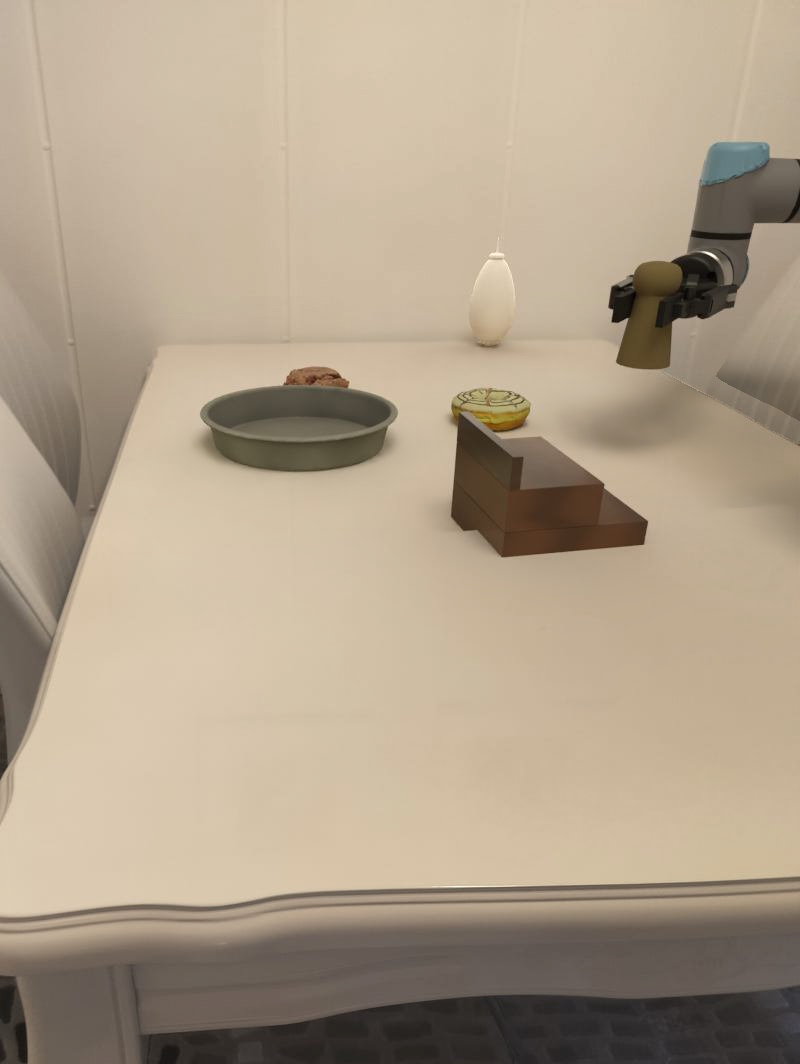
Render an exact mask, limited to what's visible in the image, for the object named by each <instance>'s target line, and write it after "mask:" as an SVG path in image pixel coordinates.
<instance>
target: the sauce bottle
mask: <svg viewBox="0 0 800 1064" xmlns="http://www.w3.org/2000/svg"><path fill="white" fill-rule="evenodd" d="M488 258H489V259H488V260H487V261H486V262H485V263H484V264H483V266H482V268H481V269H480V271H479V273H478V275H477V277H476V279H475V282H474V285H473V288H472V292H471V295H470V301H469V311H468V316H469V317H468V318H469V319H468V320H469V326H470V328H471V332H472V334H473V337H475V338H476V339H478V342H479V343H481V344H483V346H484V347H494V346H495V345H497V344H499V343H500V341H501V340H503V339H505V338H506V336H507V335H508V334H509V332H510V329H511V328H512V325H513V322H514V318H515V313H516V303H517V301H516V299H517V298H516V287H515V282H514V278H513V275H512V271H511V269H510V267H509V265H508V263H507V261H506V260H505V258H506V255H505V254H504V253H502V252H500V237H499V236H498V237H497V241H496V246H495V252H492V253H490V254H489V255H488Z"/></svg>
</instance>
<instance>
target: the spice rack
mask: <svg viewBox="0 0 800 1064" xmlns="http://www.w3.org/2000/svg"><path fill="white" fill-rule="evenodd" d="M456 431H457V432H456V433H457V434H456V445H455V459H454V472H453V483H452V484H453V485H452V495H451V496H452V497H451V508H450V509H451V510H450V517H451V518H452V520H453V521H454V522H455V523H456V524H457V525H458V527H460V529H461V530H462V531H463V532H470V531H477V532H478V533H479V534H480V535H481V537H483V538H484V540H485V541H486V542H488V544H489V546H491V547H492V548H493V549H494V551H495V552H496V553H497V554H498V555H499V556H500V557H501V558H512V557H513V558H515V557H524V556H534V555H547V554H558V553H568V552H569V553H570V552H580V551H590V550H592V551H593V550H603V549H613V548H624V547H625V548H627V547H635V546H644V545H645V540H646V535H647V531H648V527H649V520H648V519H646V517H645V518H644V516H642V515H641V514H639V512H637V511H636V510H634V509H633V508H631V507H630V506H629V505H628V504H626V503H625V502H624V501H622V500H621V499H619V498H618V497H617V496H615V494H613V493H611V492H610V491H609V490H608V489H606V488H605V486H606V485H605V482H604V481H602V480H601V479H599V478H598V477H596V476H595V475H594V474H592V473H591V472H590V471H588V470H587V469H585V468H584V467H583V466H581V465H580V464H579V463H578V462H576V461H575V460H573V458H571V457H570V456H569V455H567V454H565V453H564V452H562V450H560V449H558V447H556V446H554V445H553V444H552V443H551V442H549V441H548V440H546V439H545V438H544V437H543V436H526V437H513V438H512V437H511V438H502V437H500V436H499V435H498V434H497V433H495V432H494V431H492V430H490V429H489V428H488V427H487V426H485V425H484V424H483V423H482V422H481V421H479V420H478V419H477V418H476V417H474V416H473V415H472V414H471V413H470V412H459V418H458V421H457V430H456Z"/></svg>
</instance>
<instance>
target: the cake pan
mask: <svg viewBox="0 0 800 1064" xmlns="http://www.w3.org/2000/svg"><path fill="white" fill-rule="evenodd" d="M398 414H399V411H398V408H397V406H396V405H395V404H394V403H393V402H392V401H390V400H389V399H387V398H385V397H383V396H380V395H378V394H375V393H371V392H369V391H365V390H361V389H355V388H349V387H348V388H343V387H334V386H320V385H283V384H282V385H271V386H262V387H261V386H260V387H254V388H247V389H242V390H237V391H233V392H230V393H226V394H223V395H221V396H218V397H215V398H213V399H212V400H210V401H208V402H207V403H205V404H204V405H203V406H202V407H201V409H200V412H199V416H200V417H199V418H200V419H201V420H202V422H203V423H204V424H205V425H206V426H208V427H209V428H210V432H211V434H212V435H211V436H212V438H213V441H214V444H215V448H216V450H217V451H218V452H219V453H220V454H221V455H222V456H223V457H225V458H227V459H229V460H231V461H233V462H236V463H239V464H243V465H246V466H249V467H256V468H260V469H268V470H277V471H320V470H321V471H322V470H331V469H337V468H342V467H348V466H351V465H355V464H358V463H361V462H364V461H366V460H368V459H371V458H373V457H374V456H376V455H377V454H378V453H380V451H381V450H382V448H383V446H384V444H385V438H386V435H387V431H388V428H389V426H390V425H392V424H393V423H394V422H395V421H396V419H397V418H398Z"/></svg>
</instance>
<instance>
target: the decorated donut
mask: <svg viewBox="0 0 800 1064" xmlns="http://www.w3.org/2000/svg"><path fill="white" fill-rule="evenodd" d="M531 406H532V403H531V402H530V400H528V399H527V398H526V397H525V396H523V395H521V394H519V393H518V392H515V391H511V390H504V389H499V388H493V387H480V388H474V389H470V390H465V391H461V392H459V393H457V394H456V395H455V396H453V397H452V400H451V406H450V410H451V412H452V415H453V418H454V420H455V421H457V422H458V418H459V412H470V413H471V414H472V415H473V416H474V417H476V418H477V419H478V420H479V421H481V422H482V423H483V424H484V425H485V426H487V427H488V428H489V429H490V430H492V431H493V432H494V431H499V432H500V431H510V430H512V429H513V428H514V429H515V428H517V427H519V426H521V425H522V424H523V423H524V422H525V421H526V419H527V418H528V416H529V415H530V412H531Z"/></svg>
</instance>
